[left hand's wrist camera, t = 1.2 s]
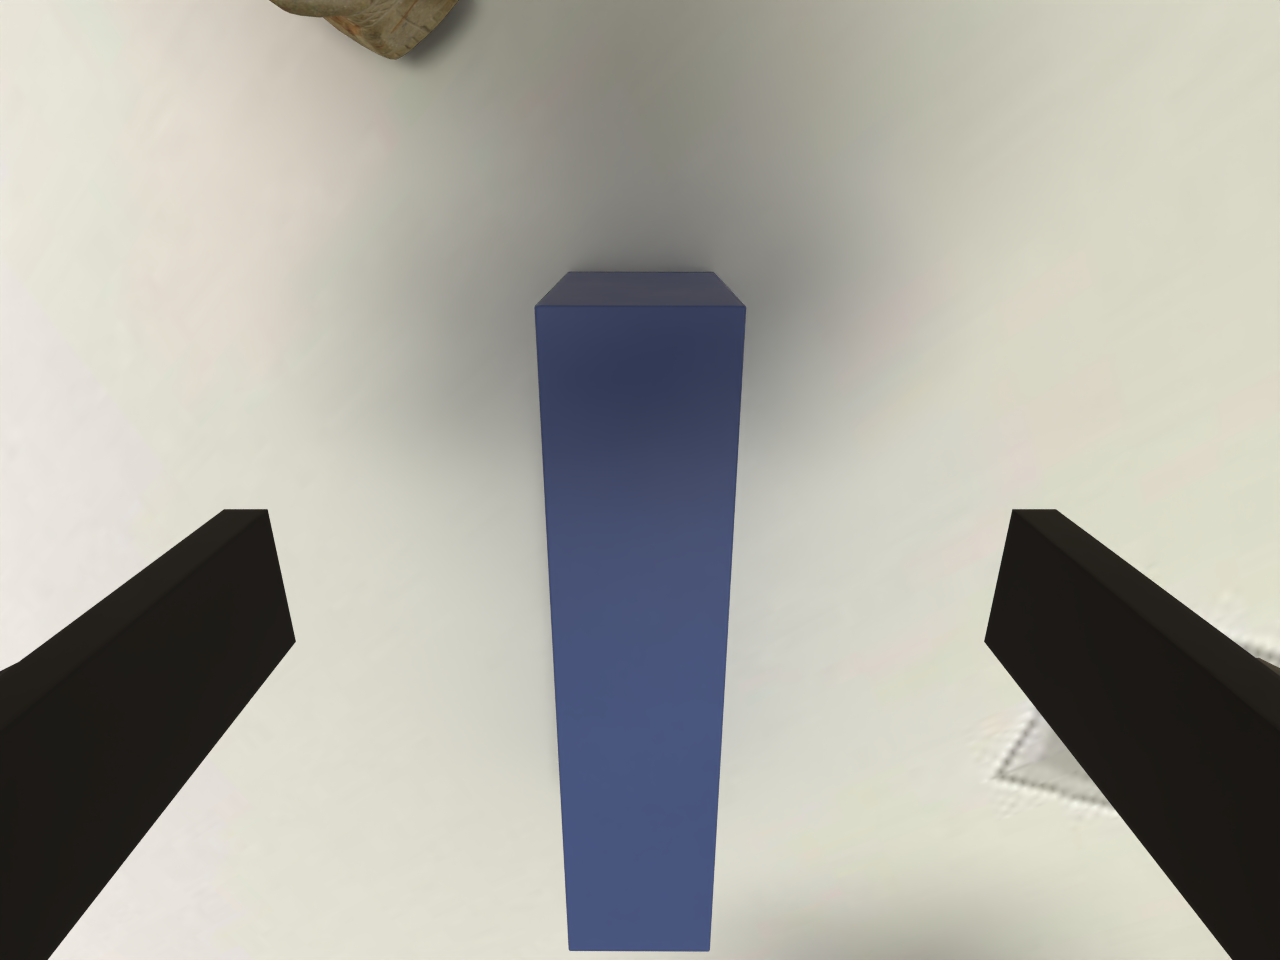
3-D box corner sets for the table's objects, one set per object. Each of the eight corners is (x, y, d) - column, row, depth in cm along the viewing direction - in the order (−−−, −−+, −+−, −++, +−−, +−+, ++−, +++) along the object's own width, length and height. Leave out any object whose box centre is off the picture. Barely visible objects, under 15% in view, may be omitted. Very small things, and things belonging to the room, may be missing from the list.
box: (567, 271, 30) (534, 305, 21) (714, 272, 30) (746, 305, 21) (585, 778, 40) (568, 951, 31) (694, 779, 40) (709, 952, 31)
